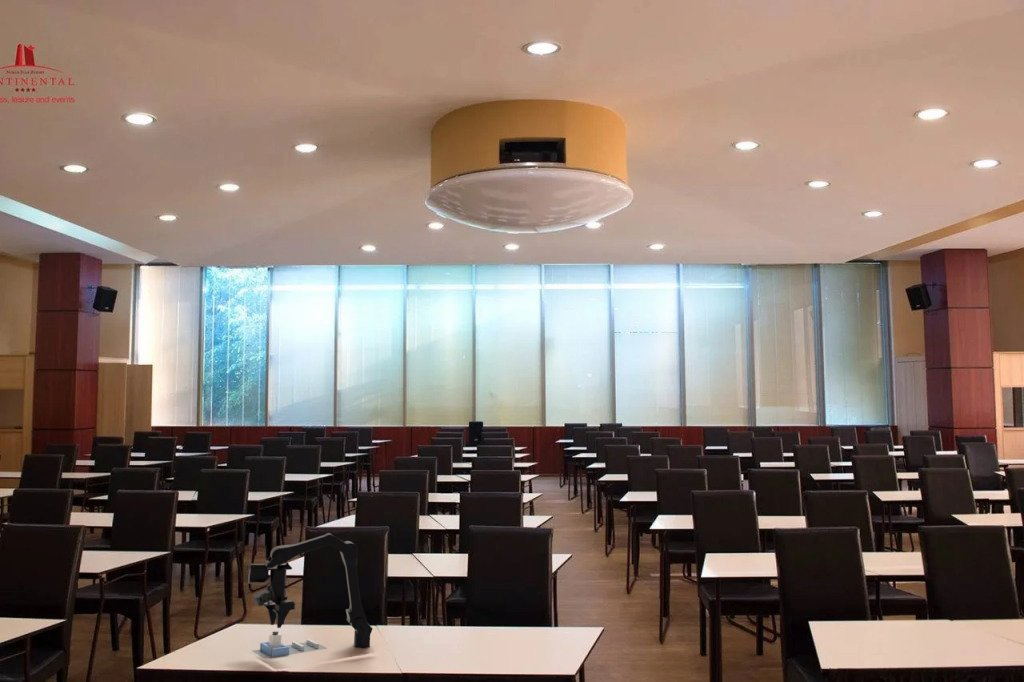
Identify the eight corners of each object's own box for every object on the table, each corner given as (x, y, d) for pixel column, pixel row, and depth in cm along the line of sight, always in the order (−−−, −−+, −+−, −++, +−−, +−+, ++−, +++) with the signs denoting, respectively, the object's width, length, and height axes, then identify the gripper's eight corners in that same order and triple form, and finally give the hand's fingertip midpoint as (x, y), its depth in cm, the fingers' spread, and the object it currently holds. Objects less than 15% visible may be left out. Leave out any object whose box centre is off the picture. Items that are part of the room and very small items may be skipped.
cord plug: (280, 655, 305) (281, 632, 306) (272, 656, 303) (273, 633, 304) (276, 653, 308) (277, 630, 309) (268, 654, 306) (269, 631, 307)
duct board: (327, 650, 312) (327, 641, 313) (265, 661, 297) (265, 651, 297) (312, 643, 321) (313, 634, 322) (251, 653, 306) (252, 643, 307)
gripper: (246, 580, 310) (243, 624, 309) (267, 588, 296) (264, 634, 294) (275, 577, 317) (272, 620, 316) (296, 585, 303) (294, 630, 301)
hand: (275, 626), depth 306 cm, fingers open, 5 cm apart
